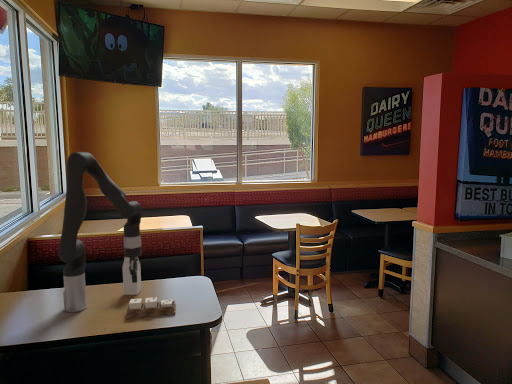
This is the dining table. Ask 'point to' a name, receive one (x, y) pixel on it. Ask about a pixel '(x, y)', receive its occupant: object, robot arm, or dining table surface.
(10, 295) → the dining table surface
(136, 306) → the tile one
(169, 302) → the tile three
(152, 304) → the tile two
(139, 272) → the milk carton
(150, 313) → the brown tile tray
